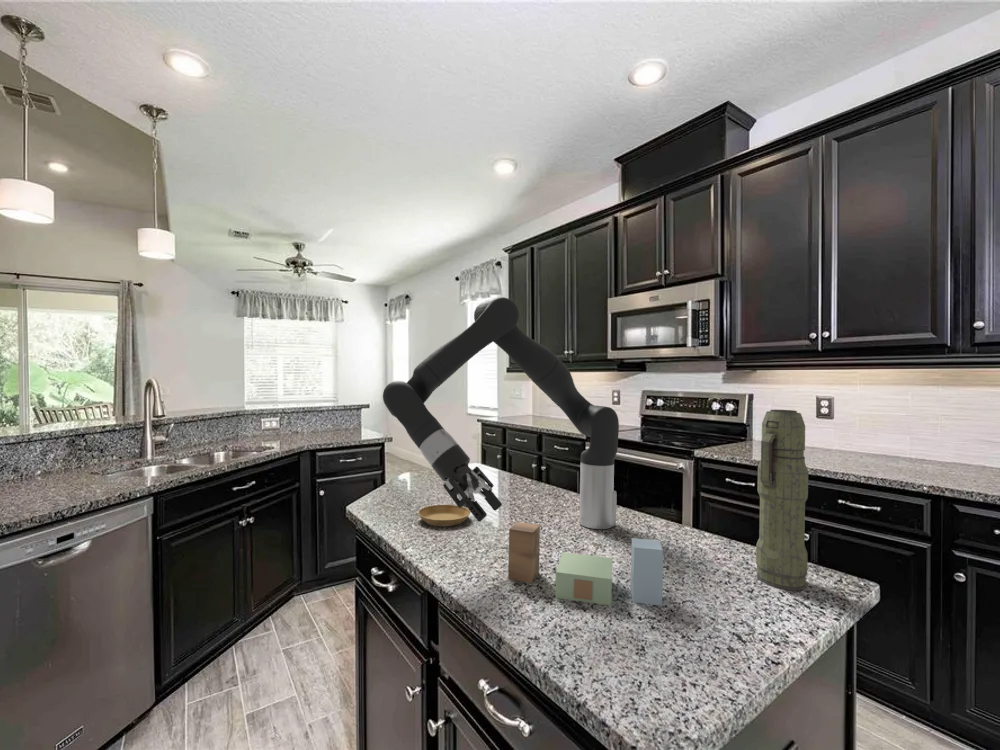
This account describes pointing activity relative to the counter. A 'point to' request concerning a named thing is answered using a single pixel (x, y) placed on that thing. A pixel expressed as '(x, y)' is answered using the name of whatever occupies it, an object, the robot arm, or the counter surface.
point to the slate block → (646, 571)
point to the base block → (584, 578)
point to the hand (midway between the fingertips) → (491, 513)
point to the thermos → (782, 501)
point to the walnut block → (524, 552)
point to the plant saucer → (444, 515)
